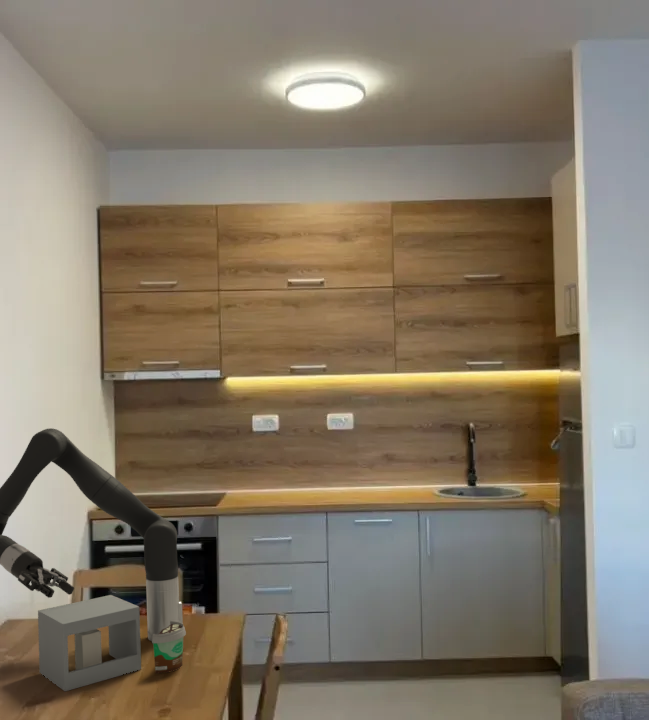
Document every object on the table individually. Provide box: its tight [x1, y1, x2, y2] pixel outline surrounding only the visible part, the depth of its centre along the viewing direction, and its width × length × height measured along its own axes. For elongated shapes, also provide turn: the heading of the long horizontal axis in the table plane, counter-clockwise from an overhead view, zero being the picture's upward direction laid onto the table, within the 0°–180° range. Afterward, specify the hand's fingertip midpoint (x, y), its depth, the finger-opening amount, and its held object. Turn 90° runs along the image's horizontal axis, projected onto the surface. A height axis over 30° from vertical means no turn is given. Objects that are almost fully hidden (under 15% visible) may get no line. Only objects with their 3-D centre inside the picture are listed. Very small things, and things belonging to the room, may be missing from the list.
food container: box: [151, 621, 187, 674], centre depth 201 cm, size 12×6×10 cm, turn 168°
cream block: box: [74, 629, 103, 670], centre depth 201 cm, size 5×5×10 cm
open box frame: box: [37, 594, 142, 692], centre depth 200 cm, size 20×17×16 cm
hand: (62, 593), depth 211 cm, fingers open, 8 cm apart
